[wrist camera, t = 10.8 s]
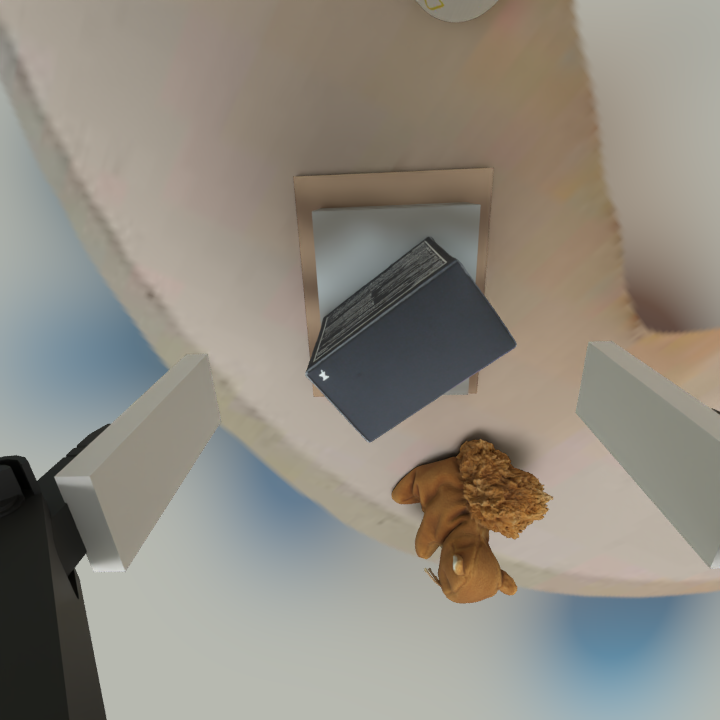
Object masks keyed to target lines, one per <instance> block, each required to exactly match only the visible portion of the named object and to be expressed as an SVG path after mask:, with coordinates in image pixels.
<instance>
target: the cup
mask: <svg viewBox="0 0 720 720" xmlns="http://www.w3.org/2000/svg"><path fill="white" fill-rule="evenodd" d="M416 1H417V2H418V4H419V5H420V6H421V7H422V8H423V9H424V10H425V11H426V12H427V13H429V14H430V15H432V16H433V17H435V18H437V19H440V20H443V21H447V22H464V21H468V20H471V19H474V18H476V17H478V16H480V15H482V14H484V13H485V12H486V11H488V10H489V9H490V8H491V7H492V6H493V5H494V4H495V3H496V2H497V1H498V0H416Z"/></svg>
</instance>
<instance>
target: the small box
mask: <svg viewBox="0 0 720 720" xmlns="http://www.w3.org/2000/svg"><path fill="white" fill-rule="evenodd" d="M516 345H517V344H516V342H515V340H514V338H513V337H512V335H511V334H510V332H509V331H508V329H507V327H506V326H505V325H504V323H503V322H502V320H501V319H500V317H499V316H498V314H497V313H496V311H495V310H494V309H493V307H492V306H491V304H490V303H489V302H488V300H487V299H486V297H485V296H484V294H483V293H482V292H481V290H480V289H479V287H478V286H477V285H476V283H475V282H474V280H473V279H472V277H471V276H470V275H469V273H468V272H467V271H466V269H465V267H464V266H463V264H462V263H461V262H460V261H459V260H458V259H456V258H454V257H452V256H451V255H449V253H447V252H446V251H445V250H444V249H443V248H442V247H441V246H439V245H438V244H437V243H436V242H435V240H434V239H433V238H432V237H430V236H429V237H427V238H426V239H424V240H423V241H422V242H421V243H419V244H418V245H416V246H415V247H414V248H413V249H411V250H410V251H409V252H407V253H406V254H405V255H403V256H402V257H401V258H400V259H398V260H397V261H396V262H394V263H393V264H391V265H390V266H389V267H388V268H387V269H385V270H384V271H383V272H381V273H380V274H379V275H378V276H376V277H375V278H374V279H373V280H371V281H370V282H369V283H367V284H366V285H365V286H363V287H362V288H360V289H359V290H358V291H356V293H354V294H353V295H352V296H350V297H349V298H348V299H346V300H345V301H344V302H343V303H341V304H340V305H339V306H338V307H337V308H335V309H334V310H333V311H332V312H330V313H329V314H328V315H327V316H325V317H324V318H323V320H322V325H321V329H320V332H319V335H318V338H317V342H316V343H315V346H314V350H313V353H312V356H311V359H310V361H309V365H308V368H307V370H306V377H307V378H308V379H309V380H310V381H311V382H312V383H313V384H314V385H315V386H316V387H317V388H318V389H319V390H320V391H321V393H322V394H323V395H324V396H325V397H326V398H327V399H328V400H329V401H330V402H331V403H332V404H333V405H334V406H335V407H336V409H337V410H338V411H339V412H340V413H341V414H342V415H343V416H344V417H345V418H346V419H347V420H348V422H349V423H350V424H351V425H352V426H353V427H354V428H355V429H356V430H357V431H358V432H359V433H360V434H361V436H362V437H363V438H364V439H365V440H366V441H367V442H369V443H370V442H372V441H374V440H375V439H377V438H378V437H380V436H381V435H383V434H384V433H386V432H387V431H389V430H390V429H392V428H393V427H395V426H396V425H398V424H399V423H401V422H402V421H404V420H405V419H407V418H408V417H410V416H411V415H413V414H414V413H416V412H417V411H419V410H420V409H422V408H423V407H425V406H426V405H428V404H430V403H431V402H433V401H434V400H436V399H437V398H439V397H440V396H442V395H443V394H445V393H446V392H448V391H449V390H451V389H452V388H454V387H455V386H457V385H458V384H460V383H462V382H463V381H465V380H466V379H468V378H469V377H471V376H472V375H474V374H475V373H477V372H478V371H480V370H481V369H483V368H485V367H486V366H488V365H489V364H491V363H492V362H494V361H495V360H497V359H498V358H500V357H501V356H503V355H505V354H506V353H508V352H509V351H511V350H512V349H514V348H515V347H516Z"/></svg>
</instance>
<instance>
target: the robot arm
mask: <svg viewBox="0 0 720 720" xmlns="http://www.w3.org/2000/svg"><path fill="white" fill-rule="evenodd" d="M576 414H577V415H578V416H579V417H580V418H581V419H582V421H583V422H584V423H585V424H586V425H587V426H588V428H589V429H590V430H591V431H592V432H593V433H594V435H595V436H596V437H597V438H598V439H599V440H600V442H601V443H602V444H603V445H604V446H605V447H606V448H607V450H608V451H609V452H610V453H611V454H612V455H613V457H614V458H615V459H616V460H617V461H618V462H619V464H620V465H621V466H622V467H623V468H624V469H625V471H626V472H627V473H628V474H629V475H630V476H631V477H632V479H633V480H634V481H635V482H636V483H637V484H638V486H639V487H640V488H641V489H642V490H643V491H644V493H645V494H646V495H647V496H648V497H649V498H650V499H651V501H652V502H653V503H654V504H655V505H656V506H657V508H658V509H659V510H660V511H661V512H662V513H663V515H664V516H665V517H666V518H667V519H668V520H669V522H670V523H671V524H672V525H673V526H674V527H675V528H676V530H677V531H678V532H679V533H680V534H681V535H682V537H683V538H684V539H685V540H686V541H687V542H688V544H689V545H690V546H691V547H692V548H693V549H694V551H695V552H696V553H697V554H698V555H699V556H700V557H701V559H702V560H703V561H704V562H705V563H706V564H707V566H708V567H709V568H710V569H716V568H720V412H719V411H717V410H715V409H712V408H709V407H708V406H706V405H705V404H703V403H702V402H700V401H699V400H697V399H696V398H695V397H693V396H692V395H690V394H689V393H687V392H686V391H684V390H683V389H681V388H680V387H678V386H677V385H675V384H674V383H673V382H671V381H670V380H668V379H667V378H665V377H664V376H662V375H661V374H659V373H658V372H656V371H655V370H653V369H652V368H650V367H649V366H648V365H646V364H645V363H643V362H642V361H640V360H639V359H637V358H636V357H634V356H633V355H631V354H630V353H628V352H627V351H626V350H624V349H623V348H621V347H620V346H618V345H617V344H615V343H614V342H612V341H600V342H588V347H587V353H586V358H585V364H584V369H583V375H582V380H581V386H580V391H579V397H578V402H577V408H576ZM220 422H221V417H220V412H219V407H218V402H217V397H216V392H215V388H214V383H213V378H212V373H211V368H210V363H209V358H208V354H186V355H185V356H184V357H183V358H182V359H181V360H180V361H179V362H178V363H177V364H175V365H174V366H173V367H172V368H171V369H170V370H169V371H168V372H167V373H166V374H165V375H164V376H162V378H160V379H159V380H158V381H157V382H156V383H155V384H154V385H153V386H152V387H151V388H150V389H148V390H147V391H146V392H145V393H144V394H143V395H142V396H141V397H140V398H139V399H138V400H137V401H135V402H134V403H133V404H132V405H131V406H130V407H129V408H128V409H127V410H126V411H125V412H124V413H123V414H122V415H120V416H119V417H118V418H117V419H116V420H115V421H114V422H113V423H112V424H107V425H105V426H103V427H102V428H100V429H98V430H96V431H94V432H92V433H91V434H89V435H88V436H87V437H86V438H85V439H84V440H83V441H81V442H80V443H79V444H78V445H77V448H74V449H72V450H71V451H70V452H69V453H68V454H67V455H66V457H65V458H62V459H61V460H60V461H59V462H58V463H57V464H56V465H54V467H52V468H51V469H50V470H49V471H48V472H47V473H46V474H45V475H43V476H42V477H41V478H40V479H39V480H38V481H36V478H35V476H34V474H33V472H32V469H31V467H30V465H29V462H28V461H27V460H26V458H25V457H21V456H17V455H16V456H4V457H0V720H107V719H106V714H105V709H104V704H103V698H102V693H101V688H100V683H99V677H98V672H97V667H96V662H95V657H94V652H93V647H92V641H91V636H90V631H89V626H88V621H87V616H86V610H85V605H84V600H83V595H82V589H81V584H80V579H79V576H78V574H77V572H76V570H75V567H76V565H77V564H78V563H79V561H80V560H81V559H82V558H83V556H84V555H85V554H86V555H87V557H88V560H89V562H90V564H91V567H92V569H93V572H125V571H126V570H127V568H128V566H129V565H130V563H131V562H132V560H133V559H134V557H135V556H136V554H137V552H138V551H139V550H140V548H141V546H142V545H143V543H144V541H145V540H146V539H147V537H148V535H149V534H150V532H151V530H152V529H153V528H154V526H155V524H156V523H157V521H158V520H159V518H160V517H161V515H162V513H163V512H164V510H165V509H166V507H167V506H168V504H169V502H170V501H171V499H172V498H173V496H174V495H175V493H176V491H177V490H178V488H179V487H180V485H181V484H182V482H183V480H184V479H185V477H186V475H187V474H188V473H189V471H190V469H191V468H192V466H193V465H194V463H195V462H196V460H197V458H198V457H199V455H200V454H201V452H202V451H203V449H204V447H205V446H206V444H207V443H208V441H209V440H210V438H211V436H212V435H213V433H214V432H215V430H216V429H217V427H218V425H219V424H220Z"/></svg>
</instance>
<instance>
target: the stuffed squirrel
mask: <svg viewBox="0 0 720 720" xmlns="http://www.w3.org/2000/svg"><path fill="white" fill-rule="evenodd" d="M510 463H511V460H510V459H509V457H508V456H507V455H506V453H502V452H501V451H500V450H496V449H495V448H494V446H493V444H492V443H488V442H487V441H483V440H482V439H480V440H475V439H474V440H472V441H468V442H467V440H466V442H465V443H464V444H463V445H461V448H460V453H459V454H458V455H457V456H456V457H450V458H448V459H444V460H441V461H437V462H433V463H429V464H426V465H421V466H418V467H416V468H415V469H413V470H412V471H411V472H410V473H408V474H407V475H406V476H405V477H404V478H403V479H402V480H401V481H400V482H399V483H398V484H397V486H396V487H395V488H394V490H393V491H392V499H393V500H394V501H395V502H396V503H399V504H413V503H421V505H422V511H423V512H424V517H423V520H422V522H421V525H420V527H419V530H418V532H417V535H416V539H415V549H416V553H417V555H418V556H419V557H421V558H424V559H428V558H429V557H430V556H431V555H432V554H433V553H434V552H435V551H436V549H437V548H438V547H439V546H440V547H441V548H442V550H441V556H440V564H439V569H438V577H439V580H438V579H437V577H436V576H435V575H434V574H433V573H432V571H431V568H429V569H428V570H429V572H430V573H431V574H432V576H433V577H434V579H435V580H436V581H435V580H434V579H433V577H432V576H431V575H430V573H429V572H428V571H427V569H426V568H425V569H424V571H425V572H426V573H428V575H429V576H430V577H431V578H432V580H433V581H434V582H435V583H436V584H438V585H439V586H440V587H441V588H442V591H443V593H444V594H445V595H446V597H447V598H448V599H449V600H451V601H453V602H456V603H473V602H478V601H481V600H483V599H486V598H489V597H492V596H494V595H495V594H496V593H497V591H498V590H500V591H501V592H503V593H504V594H507V595H514V594H515V593H516V591H517V586H516V584H515V582H514V580H513V578H511V577H510V576H509V575H508V574H507V573H506V572H505V571H503V570H501V569H500V565H499V563H498V561H497V559H496V557H495V556H494V554H493V553H492V551H491V548H490V546H489V544H488V541H489V530H492V531H494V532H500V533H501V534H502V535H504V536H506V537H507V538H510V537H512V538H513V539H516V538H519V535H518V533H522V530H525V529H526V527H527V525H529V524H532V523H533V520H541V519H543V518H544V516H543V515H544V514H546V512H547V511H548V508H545V507H547V505H546V504H545V503H547V502H548V501H549V500H553V497H552V496H550V495H548V494H547V493H545V492H543V490H544V488H543V486H544V485H541V483H539V480H538V479H537V478H536V477H535V476H533V474H530V473H529V472H525V471H523V470H520V469H517V468H514V467H513V466H512V465H511V464H510Z"/></svg>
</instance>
